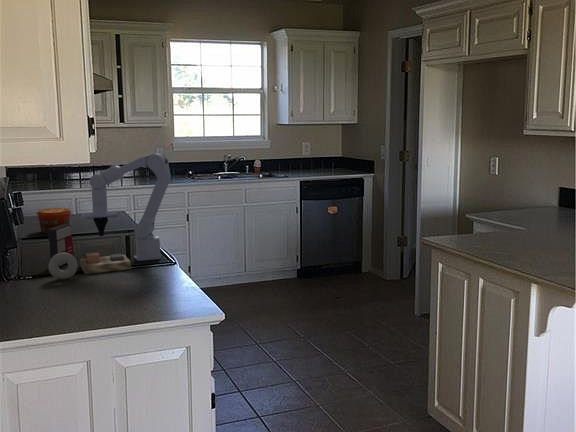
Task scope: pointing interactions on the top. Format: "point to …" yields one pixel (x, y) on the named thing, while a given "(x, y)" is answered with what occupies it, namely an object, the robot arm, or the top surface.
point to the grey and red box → (60, 240)
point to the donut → (63, 258)
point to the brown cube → (92, 257)
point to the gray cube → (116, 257)
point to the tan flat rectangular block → (105, 265)
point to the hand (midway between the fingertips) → (101, 235)
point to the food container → (53, 218)
